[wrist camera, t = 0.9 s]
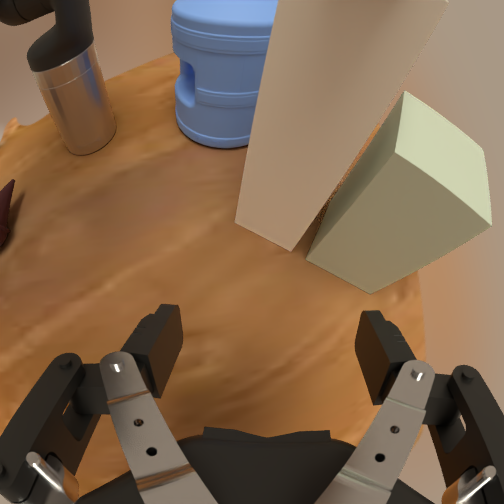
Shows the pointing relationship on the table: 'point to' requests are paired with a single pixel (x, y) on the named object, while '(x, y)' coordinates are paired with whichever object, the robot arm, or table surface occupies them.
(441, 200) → the sage step
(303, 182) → the off-white stand
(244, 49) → the water jug
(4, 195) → the icecream
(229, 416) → the table surface
